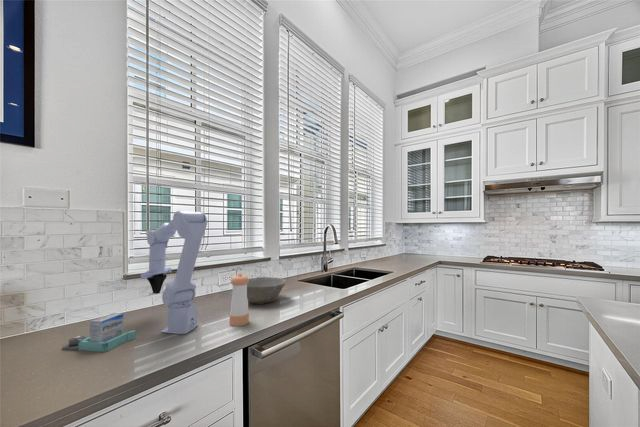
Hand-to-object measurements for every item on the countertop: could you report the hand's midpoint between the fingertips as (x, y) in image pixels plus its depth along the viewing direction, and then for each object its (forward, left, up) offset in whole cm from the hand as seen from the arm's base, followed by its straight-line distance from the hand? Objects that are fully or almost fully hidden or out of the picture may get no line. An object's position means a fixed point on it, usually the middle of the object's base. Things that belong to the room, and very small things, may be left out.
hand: (156, 293), depth 110 cm
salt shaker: (-35, -2, -11) cm, 37 cm away
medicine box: (-1, +23, -11) cm, 25 cm away
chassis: (+1, +22, -10) cm, 25 cm away
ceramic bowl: (-34, -31, -11) cm, 47 cm away
